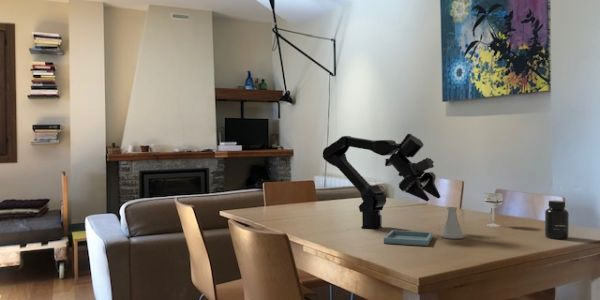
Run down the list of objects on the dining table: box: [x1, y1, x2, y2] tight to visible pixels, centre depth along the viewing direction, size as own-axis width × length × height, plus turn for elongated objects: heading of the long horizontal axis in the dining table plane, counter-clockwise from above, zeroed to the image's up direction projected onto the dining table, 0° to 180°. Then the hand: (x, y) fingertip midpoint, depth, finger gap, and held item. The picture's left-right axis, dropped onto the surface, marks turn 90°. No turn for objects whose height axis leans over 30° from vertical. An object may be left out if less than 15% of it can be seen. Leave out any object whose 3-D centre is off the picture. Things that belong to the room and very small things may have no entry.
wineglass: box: [483, 192, 504, 228], centre depth 177 cm, size 7×7×12 cm
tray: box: [383, 229, 433, 247], centre depth 153 cm, size 14×14×2 cm
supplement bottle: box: [544, 200, 570, 240], centre depth 154 cm, size 7×7×12 cm
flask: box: [441, 206, 465, 240], centre depth 157 cm, size 7×7×10 cm
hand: (434, 199), depth 161 cm, fingers open, 9 cm apart
